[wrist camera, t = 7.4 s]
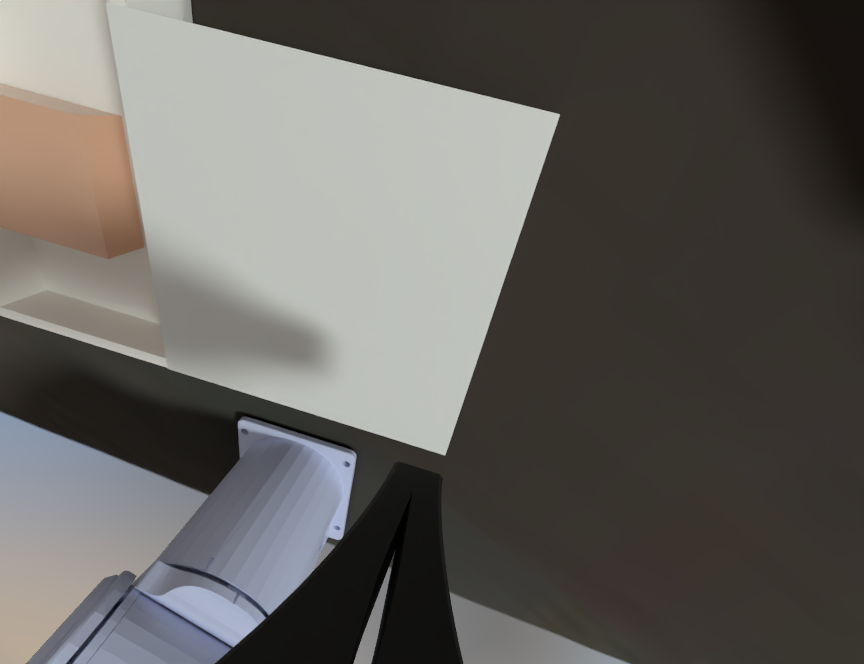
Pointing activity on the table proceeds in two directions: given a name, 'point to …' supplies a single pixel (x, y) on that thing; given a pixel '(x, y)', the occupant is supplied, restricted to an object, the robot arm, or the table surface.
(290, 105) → the board
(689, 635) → the table surface
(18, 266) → the tray
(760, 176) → the table surface
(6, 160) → the tile
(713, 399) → the table surface
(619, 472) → the table surface
